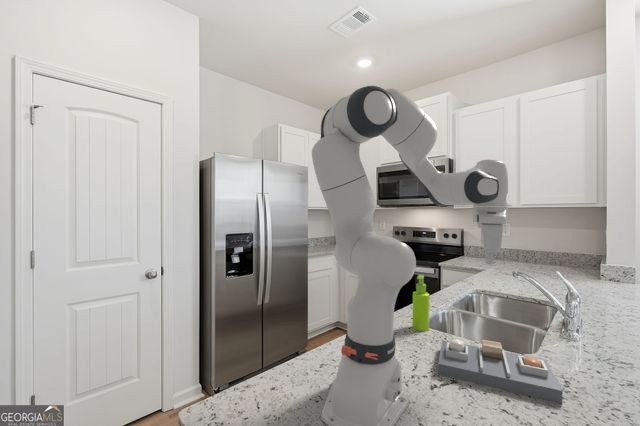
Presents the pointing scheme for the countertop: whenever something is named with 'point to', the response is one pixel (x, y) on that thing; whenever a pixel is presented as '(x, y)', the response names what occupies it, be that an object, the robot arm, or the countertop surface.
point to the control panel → (500, 372)
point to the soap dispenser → (420, 306)
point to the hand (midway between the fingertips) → (489, 263)
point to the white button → (457, 345)
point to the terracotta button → (532, 362)
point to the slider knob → (492, 349)
